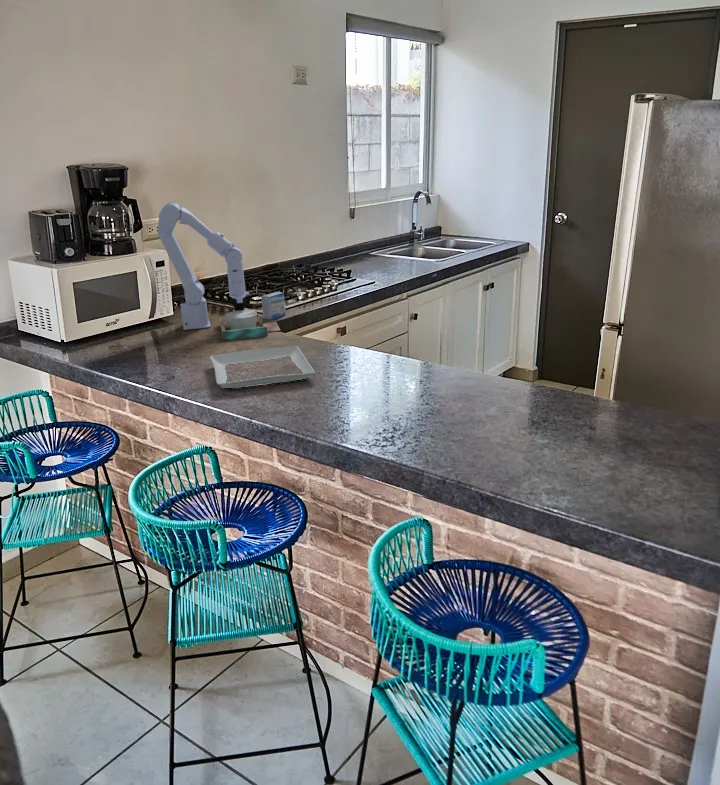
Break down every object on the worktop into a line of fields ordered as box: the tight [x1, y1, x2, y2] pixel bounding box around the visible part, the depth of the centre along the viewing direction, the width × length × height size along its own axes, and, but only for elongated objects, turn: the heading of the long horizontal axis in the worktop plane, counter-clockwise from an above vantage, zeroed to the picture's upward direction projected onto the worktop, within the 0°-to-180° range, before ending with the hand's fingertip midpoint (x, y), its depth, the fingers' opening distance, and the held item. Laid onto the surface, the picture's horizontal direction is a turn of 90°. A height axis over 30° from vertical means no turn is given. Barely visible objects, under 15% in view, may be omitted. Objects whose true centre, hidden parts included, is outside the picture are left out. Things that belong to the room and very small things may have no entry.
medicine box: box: [260, 291, 286, 320], centre depth 265 cm, size 8×4×9 cm, turn 143°
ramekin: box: [224, 309, 258, 330], centre depth 252 cm, size 11×11×5 cm
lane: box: [219, 313, 282, 341], centre depth 250 cm, size 20×20×3 cm
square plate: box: [209, 345, 316, 389], centre depth 205 cm, size 27×27×4 cm
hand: (240, 318), depth 259 cm, fingers closed
